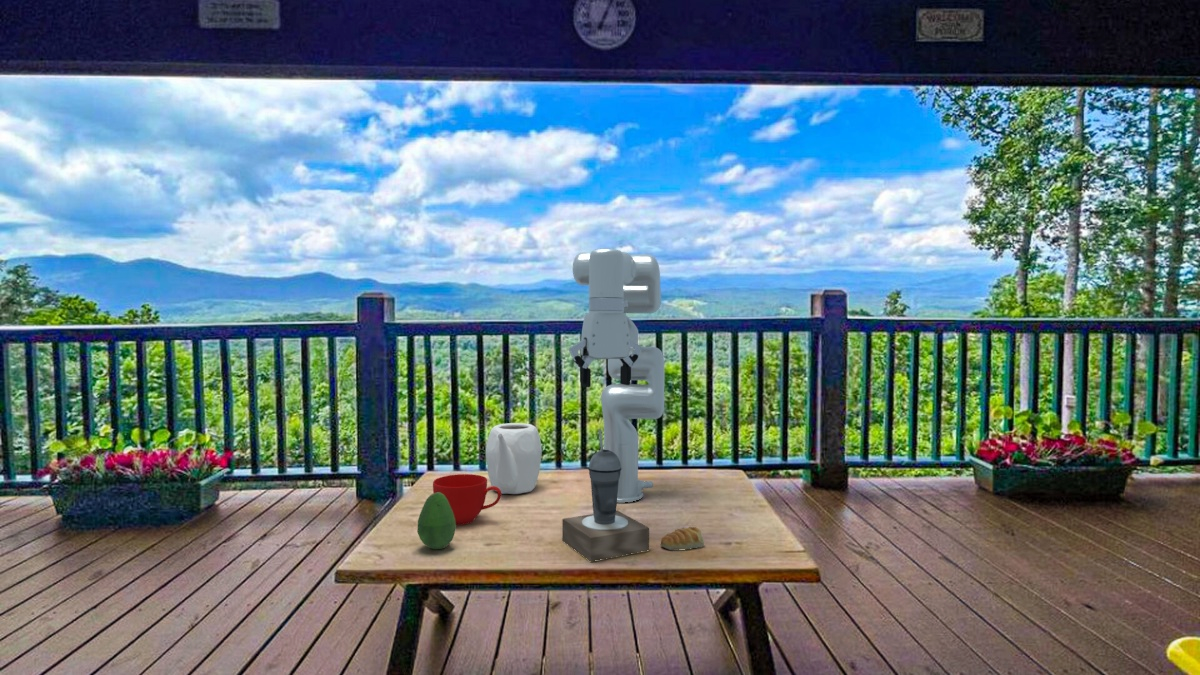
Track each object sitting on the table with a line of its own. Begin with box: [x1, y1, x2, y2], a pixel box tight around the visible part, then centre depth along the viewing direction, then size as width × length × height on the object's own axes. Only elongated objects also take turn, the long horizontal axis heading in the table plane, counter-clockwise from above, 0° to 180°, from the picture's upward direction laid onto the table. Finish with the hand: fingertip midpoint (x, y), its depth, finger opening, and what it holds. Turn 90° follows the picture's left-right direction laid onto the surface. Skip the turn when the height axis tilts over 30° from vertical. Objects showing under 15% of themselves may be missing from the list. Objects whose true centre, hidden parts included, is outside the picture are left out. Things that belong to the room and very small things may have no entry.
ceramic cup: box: [432, 473, 502, 526], centre depth 153 cm, size 13×17×10 cm
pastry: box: [660, 526, 705, 551], centre depth 138 cm, size 9×7×4 cm
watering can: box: [485, 422, 543, 495], centre depth 181 cm, size 16×27×19 cm, turn 172°
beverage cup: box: [588, 429, 621, 524], centre depth 137 cm, size 7×7×20 cm
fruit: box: [416, 492, 457, 550], centre depth 135 cm, size 8×8×12 cm
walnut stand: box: [561, 509, 650, 562], centre depth 137 cm, size 14×14×5 cm
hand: (605, 385), depth 137 cm, fingers open, 9 cm apart
